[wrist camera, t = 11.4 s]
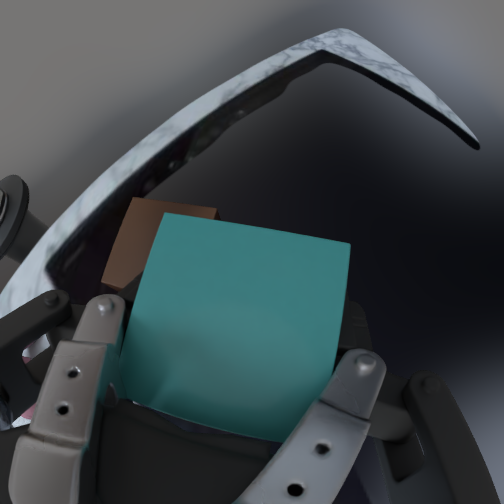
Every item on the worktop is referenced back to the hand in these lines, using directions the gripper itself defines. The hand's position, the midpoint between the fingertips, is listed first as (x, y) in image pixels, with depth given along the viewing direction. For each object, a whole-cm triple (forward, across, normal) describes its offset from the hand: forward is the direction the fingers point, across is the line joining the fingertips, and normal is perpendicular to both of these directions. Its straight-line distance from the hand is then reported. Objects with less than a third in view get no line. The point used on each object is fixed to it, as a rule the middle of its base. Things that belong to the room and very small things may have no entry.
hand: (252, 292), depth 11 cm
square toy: (0, 0, +2) cm, 3 cm away
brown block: (+14, +10, +7) cm, 19 cm away
